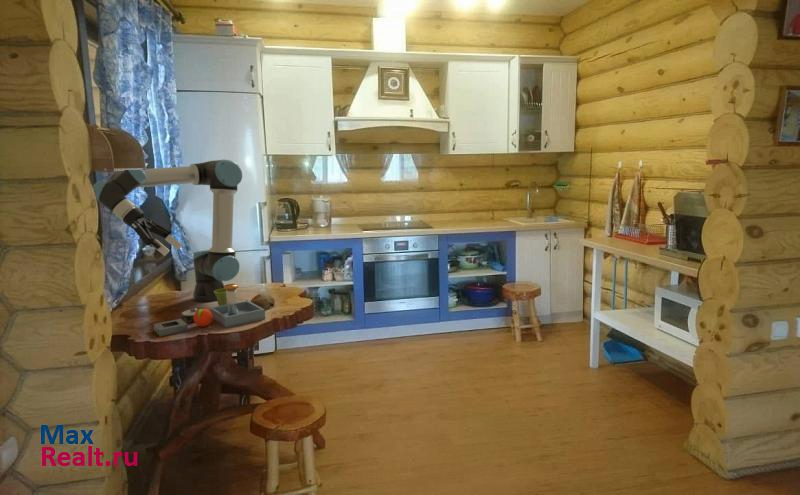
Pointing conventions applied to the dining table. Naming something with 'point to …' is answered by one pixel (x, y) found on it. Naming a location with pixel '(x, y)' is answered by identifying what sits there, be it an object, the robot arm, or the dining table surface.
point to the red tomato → (203, 317)
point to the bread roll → (263, 301)
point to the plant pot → (221, 296)
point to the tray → (245, 314)
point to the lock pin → (231, 298)
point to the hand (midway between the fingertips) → (174, 250)
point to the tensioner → (175, 324)
